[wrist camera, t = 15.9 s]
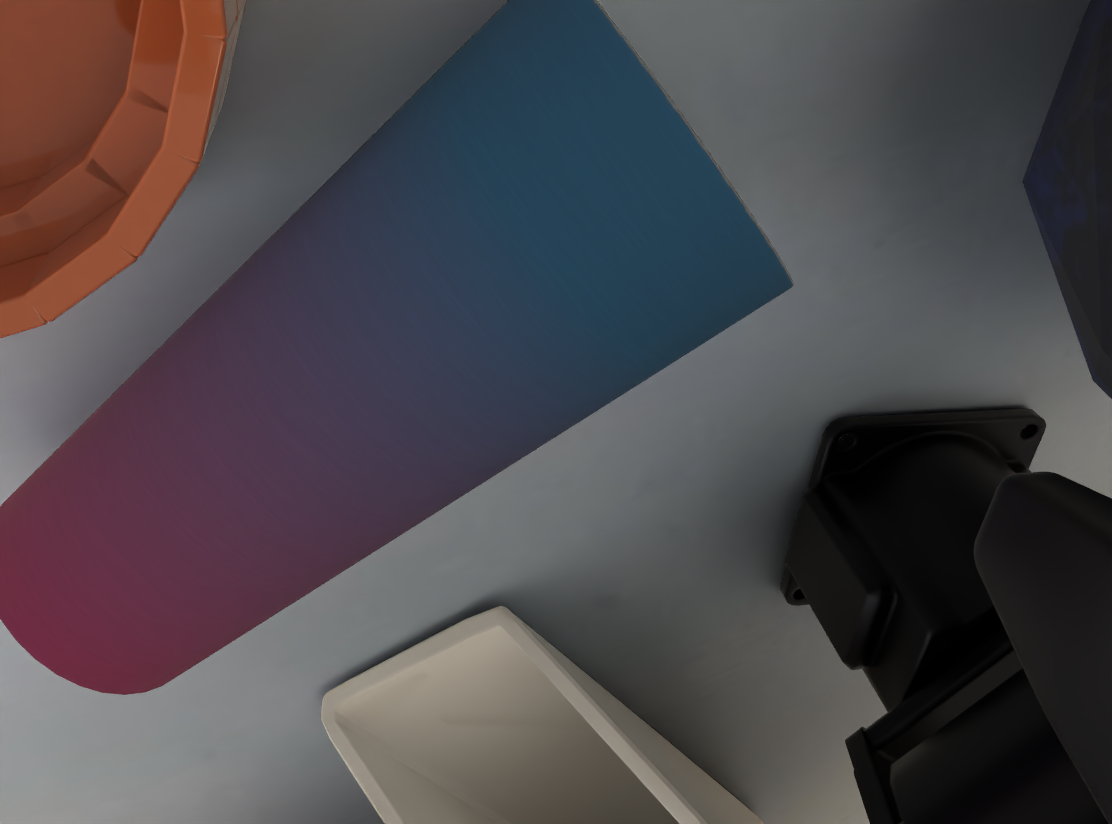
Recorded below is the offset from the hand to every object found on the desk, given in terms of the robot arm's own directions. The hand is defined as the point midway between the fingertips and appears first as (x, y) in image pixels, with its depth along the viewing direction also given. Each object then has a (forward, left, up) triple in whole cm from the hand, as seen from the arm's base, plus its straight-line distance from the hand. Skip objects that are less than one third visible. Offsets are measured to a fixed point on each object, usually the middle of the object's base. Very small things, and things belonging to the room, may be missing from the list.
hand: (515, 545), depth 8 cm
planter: (-8, +22, -13) cm, 26 cm away
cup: (+7, +9, -10) cm, 15 cm away
